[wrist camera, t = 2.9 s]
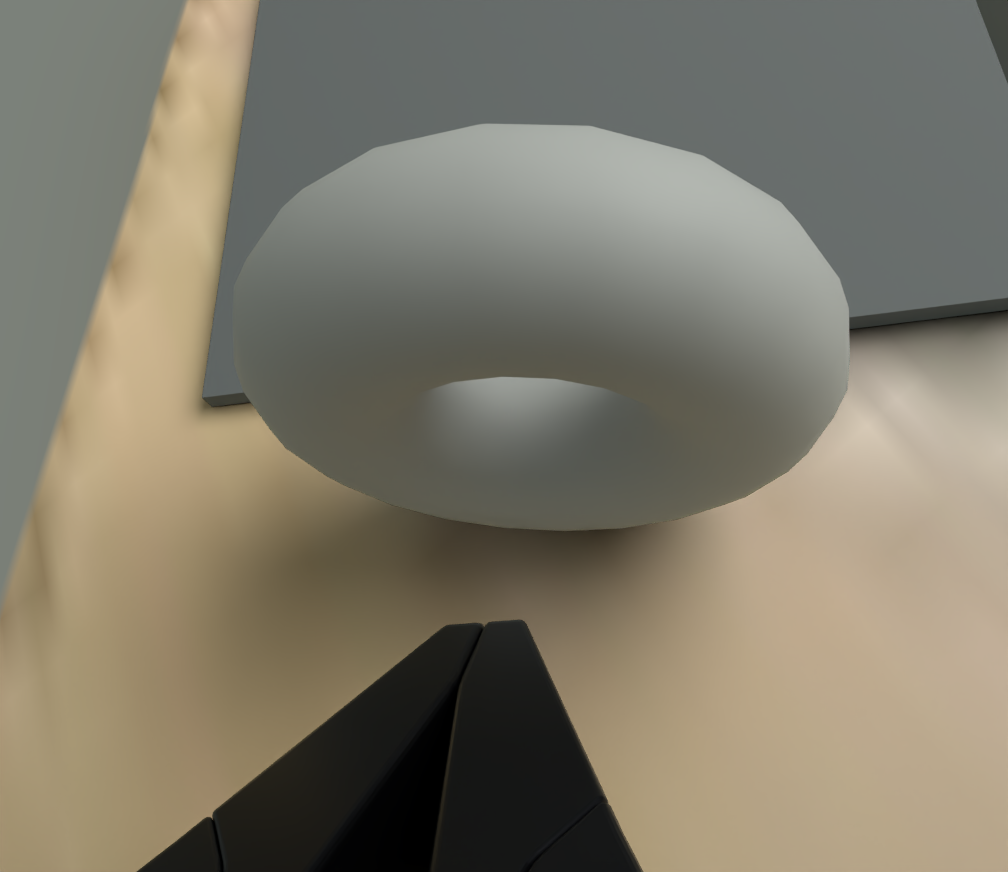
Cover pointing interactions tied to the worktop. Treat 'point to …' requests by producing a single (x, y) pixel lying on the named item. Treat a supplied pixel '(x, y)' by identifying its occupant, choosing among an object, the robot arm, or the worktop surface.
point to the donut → (541, 329)
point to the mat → (665, 119)
